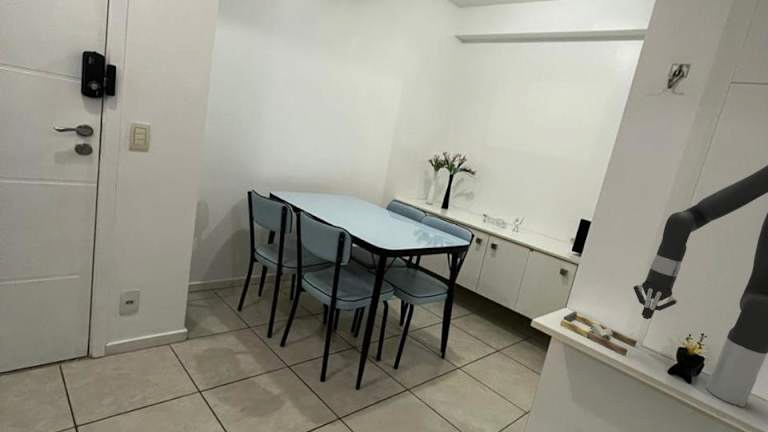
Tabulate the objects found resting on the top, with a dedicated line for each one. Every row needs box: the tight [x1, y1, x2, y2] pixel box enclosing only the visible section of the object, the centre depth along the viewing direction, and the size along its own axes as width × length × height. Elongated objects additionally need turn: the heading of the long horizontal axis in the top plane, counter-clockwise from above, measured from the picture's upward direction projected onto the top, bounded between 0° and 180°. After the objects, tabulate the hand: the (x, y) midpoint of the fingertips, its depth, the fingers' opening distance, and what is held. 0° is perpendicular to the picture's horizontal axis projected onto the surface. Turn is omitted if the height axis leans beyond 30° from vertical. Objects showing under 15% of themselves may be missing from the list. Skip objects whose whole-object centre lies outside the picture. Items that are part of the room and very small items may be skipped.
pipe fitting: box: [589, 322, 613, 341], centre depth 144 cm, size 8×4×7 cm
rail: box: [560, 311, 638, 357], centre depth 145 cm, size 22×14×3 cm, turn 44°
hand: (645, 318), depth 135 cm, fingers closed
